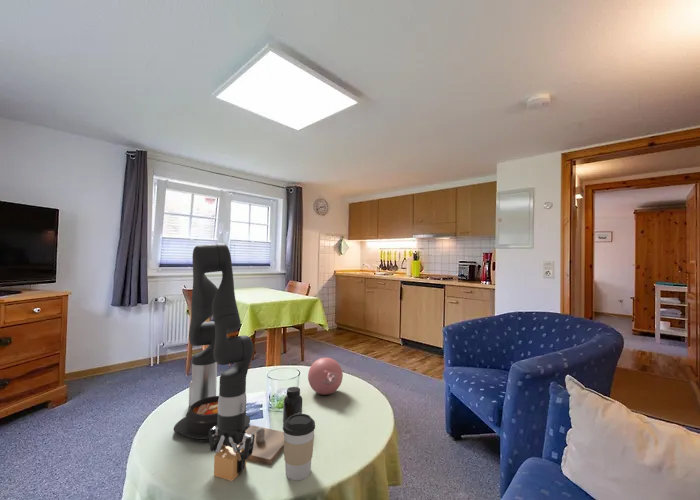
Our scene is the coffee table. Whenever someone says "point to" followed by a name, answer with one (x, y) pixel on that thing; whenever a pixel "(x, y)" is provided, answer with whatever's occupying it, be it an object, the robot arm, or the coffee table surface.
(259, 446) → the post stand
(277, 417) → the coffee table surface
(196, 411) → the casserole
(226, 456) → the peach cube
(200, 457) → the coffee table surface
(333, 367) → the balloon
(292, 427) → the coffee cup
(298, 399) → the supplement bottle
